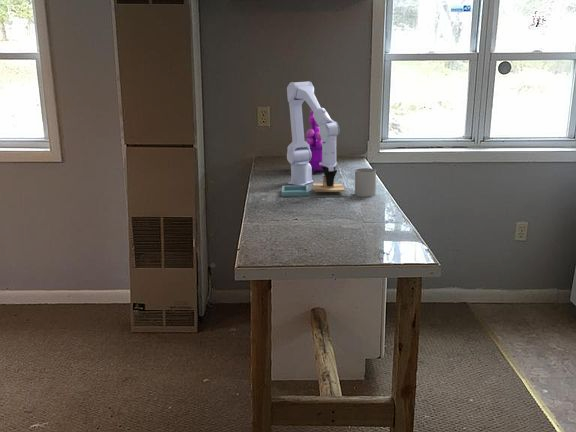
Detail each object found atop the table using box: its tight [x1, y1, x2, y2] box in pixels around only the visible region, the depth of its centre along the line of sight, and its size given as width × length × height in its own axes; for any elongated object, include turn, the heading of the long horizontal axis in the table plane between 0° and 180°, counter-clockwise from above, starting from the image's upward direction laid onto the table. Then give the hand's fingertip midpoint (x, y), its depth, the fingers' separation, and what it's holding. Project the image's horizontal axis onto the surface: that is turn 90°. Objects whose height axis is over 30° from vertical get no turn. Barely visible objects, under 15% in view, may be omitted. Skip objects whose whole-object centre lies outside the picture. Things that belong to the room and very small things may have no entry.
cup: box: [354, 167, 377, 198], centre depth 250 cm, size 8×8×10 cm
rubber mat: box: [311, 187, 348, 198], centre depth 254 cm, size 14×14×1 cm
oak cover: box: [312, 175, 346, 192], centre depth 253 cm, size 12×12×5 cm
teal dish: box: [281, 184, 310, 198], centre depth 254 cm, size 11×11×2 cm
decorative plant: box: [296, 108, 324, 172], centre depth 294 cm, size 19×18×30 cm
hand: (329, 184), depth 253 cm, fingers closed on oak cover, 4 cm apart
